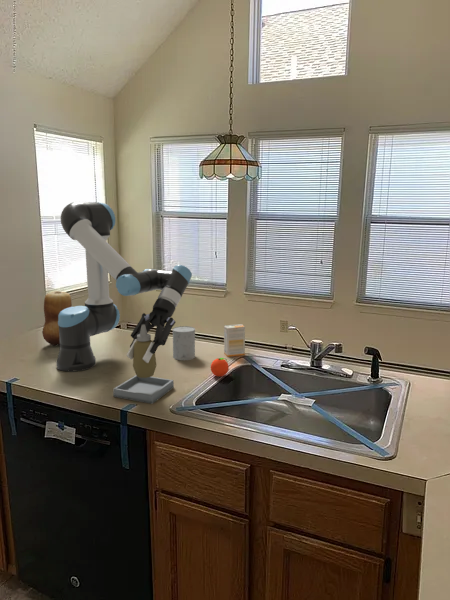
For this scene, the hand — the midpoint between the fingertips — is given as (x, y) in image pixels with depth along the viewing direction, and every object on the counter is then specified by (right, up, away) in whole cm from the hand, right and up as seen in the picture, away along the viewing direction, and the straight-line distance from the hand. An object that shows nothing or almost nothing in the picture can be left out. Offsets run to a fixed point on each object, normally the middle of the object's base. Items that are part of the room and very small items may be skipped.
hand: (137, 359), depth 154 cm
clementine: (+28, -9, +22) cm, 37 cm away
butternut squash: (-48, -1, +59) cm, 76 cm away
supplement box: (+33, -4, +47) cm, 58 cm away
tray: (+1, -12, +6) cm, 14 cm away
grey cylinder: (+12, -5, +44) cm, 46 cm away
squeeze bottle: (+2, -6, +4) cm, 8 cm away
